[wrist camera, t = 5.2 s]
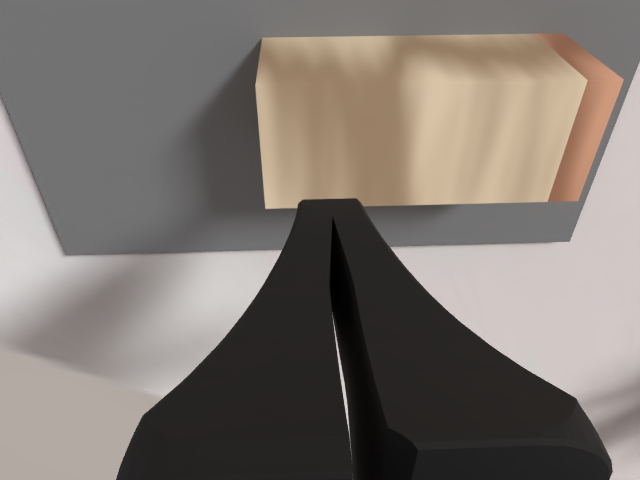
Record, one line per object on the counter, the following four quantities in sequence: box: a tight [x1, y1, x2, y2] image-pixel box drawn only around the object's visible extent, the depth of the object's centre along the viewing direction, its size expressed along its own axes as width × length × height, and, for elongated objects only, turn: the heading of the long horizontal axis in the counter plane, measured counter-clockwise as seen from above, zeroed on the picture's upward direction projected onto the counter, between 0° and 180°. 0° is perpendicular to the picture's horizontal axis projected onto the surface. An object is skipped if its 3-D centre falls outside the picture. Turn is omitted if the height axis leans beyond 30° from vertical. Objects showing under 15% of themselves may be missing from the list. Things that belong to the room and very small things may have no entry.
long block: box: [255, 33, 624, 209], centre depth 17 cm, size 4×4×10 cm
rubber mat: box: [0, 0, 640, 255], centre depth 18 cm, size 22×14×1 cm, turn 90°
